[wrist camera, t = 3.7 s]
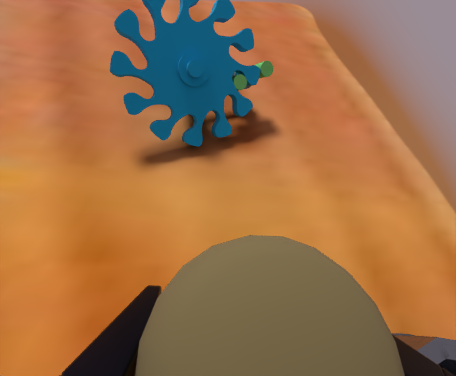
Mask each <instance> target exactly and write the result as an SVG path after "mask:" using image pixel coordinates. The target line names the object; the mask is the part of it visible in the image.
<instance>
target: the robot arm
mask: <svg viewBox="0 0 456 376" xmlns="http://www.w3.org/2000/svg"><path fill="white" fill-rule="evenodd" d="M160 294H161V286H154V285H149V286H147V287H146V288H145V289H144V290H143V291H142V292H141V293H140V294H139V295H138V296H137V297H136V298H135V299H134V300H133V301H132V302H131V303H130V304H129V305H128V306H127V307H126V308H125V309H124V310H123V311H122V312H121V313H120V314H119V315H118V316H117V317H116V318H115V319H114V320H113V321H112V322H111V323H110V324H109V325H108V326H107V327H106V329H105V330H104V331H103V332H102V333H101V334H100V335H99V336H98V337H97V338H96V339H95V340H94V341H93V342H92V343H91V344H90V345H89V346H88V347H87V348H86V349H85V350H84V351H83V352H82V353H81V354H80V355H79V356H78V357H77V358H76V359H75V360H74V361H73V362H72V363H71V364H70V365H69V366H68V367H67V368H66V369H65V370H64V371H63V372H62V376H135V373H136V365H137V357H138V349H139V341H140V339H141V336H142V334H143V332H144V329H145V327H146V324H147V322H148V319H149V317H150V315H151V312H152V310H153V307H154V305H155V303H156V300H157V298H158V297H159V295H160ZM392 336H393V338H394V340H395V342H396V345H397V349H398V352H399V356H400V360H401V364H402V367H403V371H404V375H405V376H454V375H453V374H451V373H450V372H448V371H447V370H445V369H444V368H442V369H441V367H440V366H439V365H438V364H436V363H435V362H433V361H432V360H430V359H429V358H427V357H426V356H424V355H423V354H421V353H420V352H418V351H417V350H415V349H414V348H412V347H411V346H409V345H408V344H406V343H405V342H403V341H402V340H400V339H399V338H397V337H396V336H394V335H393V334H392ZM60 376H61V375H60Z"/></svg>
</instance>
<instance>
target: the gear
mask: <svg viewBox="0 0 456 376" xmlns="http://www.w3.org/2000/svg"><path fill="white" fill-rule="evenodd" d="M142 1H143V3H144V5H145V6H146V8H147V9H148V10H149V12H150V14H151V16H152V18H153V22H154V27H155V39H154V40H153V41H146V40H144V39H143V38H142V37H141V35H140V33H139V22H138V19H137V16H136V15H135V14H134V12H132V11H131V10H129V9H128V10H125V11H124V12H122V13H121V14H120V15H119V16H118V18H117V19H116V20H115V29H116V30H117V32H118V33H119V34H120V35H121V36H123V37H125V38H128V39H129V40H131V41H132V42H134V43H135V44H136V45H137V46H138V47H139V48H140V50H141V51H142V53H143V55H144V56H145V58H146V60H147V67H146V68H145V69H143V70H139V69H137V68H135V67H134V66H133V65H132V63H131V61H130V60H129V58H128V57H127V55H125V54H124V53H123V52H120V51H114V53H113V55H112V58H111V63H110V72H111V73H112V74H113V75H115V76H118V77H124V76H132V77H137V78H139V79H141V80H143V81H145V82H147V83H148V84H150V85H151V86H152V88H153V90H154V94H153V96H152V98H150V99H145V98H143V97H141V96H139V95H138V94H136V93H127V94H126V95H124V104H125V106H126V109H127V111H128V113H129V114H132V115H136V114H139V113H140V112H141V111H142V110H143V109H145V108H146V107H149V106H151V105H156V104H161V105H167V106H168V107H169V108H170V109H171V116H170V118H169V119H167V120H156V121H154V122H152V123H151V125H150V127H149V128H150V129H151V131H152V132H153V133H154V134H155V135H156V136H157V137H159V138H160V139H161V140H166V139H167V138H168V137H169V136H170V134H171V130H172V128H173V126H174V125H175V123H176V122H177V121H178V120H179V119H181V118H182V117H184V116H186V115H188V114H189V115H191V116H192V117H193V119H194V124H193V126H192V127H191V128H189V129H188V130H186V131H185V132H184V133H183V136H182V141H183V142H185V143H187V144H189V145H193V146H199V147H200V146H201V144H202V142H203V137H202V124H203V121H204V119H205V117H206V115H207V113H208V112H209V111H211V110H212V111H213V112H214V113H215V114H216V120H215V122H214V124H213V126H212V134H213V135H214V136H215V137H225V136H228V135H230V134H231V133H232V127H231V125H230V124H229V123H228V121H227V119H226V117H225V113H224V99H225V97H226V96H227V95H229V96H230V97H231V98H232V101H233V105H232V108H233V112H234V114H235V115H236V116H241V117H243V116H245V115H246V114H247V113H248V112H249V111H250V110H251V108H252V107H253V105H252V102H251V101H250V100H249V99H247V98H245V97H243V96H242V95H241V94H240V93H239V92H238V91H237V90H242V89H247V88H249V87H250V86H251V85H256V83H257V82H258V79H259V78H263V77H268V76H270V75H271V74H272V72H273V65H272V63H271V62H269V61H265V62H261V63H258V64H256V65H252V66H245V65H242V64H239V63H238V62H236V61H235V60H234V59H233V58H232V57H231V56H230V54H229V46H230V45H232V46H234V47H235V48H236V49H238V50H239V51H241V52H246V51H248V50H250V49H252V48H253V47H254V38H253V34H252V30H251V29H249V28H246V29H244V30H242V31H240V32H239V33H237V34H236V35H235V36H231V37H226V36H220V35H218V34H216V32H215V31H214V28H213V24H214V22H222V23H224V22H226V21H228V20H229V19H230V18H232V17H233V16H234V14H235V10H234V7H233V5H232V3H231V2H230V1H229V0H217V1H216V2H215V3H214V5H213V8H212V11H211V14H210V15H209V17H208V18H206V19H204V20H202V21H200V22H195V21H193V20H192V19H191V17H190V15H189V8H190V7H192V6H194V5H196V3H197V2H198V1H199V0H180V11H179V15H178V17H177V20H176V21H175V23H171V24H170V23H167V22H166V21H164V19H163V18H162V15H161V9H162V7H163V4H164V2H165V0H142Z"/></svg>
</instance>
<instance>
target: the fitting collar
mask: <svg viewBox="0 0 456 376" xmlns="http://www.w3.org/2000/svg"><path fill="white" fill-rule="evenodd" d="M391 334H393V335H394V336H396V337H397V338H399V339H400V340H402V341H403V342H405V343H406V344H408V345H409V346H411V347H412V348H414V349H415V350H417V351H418V352H420V353H421V354H423V355H424V356H426V357H427V358H429V359H430V360H432V361H433V362H435V363H436V364H438V365H439V366H440V367H441V369H442V368H444V369H445V370H447V371H448V372H450V373H451V374H453V375H454V376H456V340H450V339H444V338H439V337H425V336H414V335H409V334H397V333H391Z"/></svg>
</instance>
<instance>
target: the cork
mask: <svg viewBox="0 0 456 376" xmlns="http://www.w3.org/2000/svg"><path fill="white" fill-rule="evenodd" d="M135 376H405V375H404V371H403V367H402V364H401V360H400V356H399V352H398V349H397V345H396V342H395V340H394V338H393V336H392V334H391V332H390V330H389V328H388V326H387V325H386V323H385V321H384V319H383V317H382V315H381V313H380V311H379V309H378V307H377V305H376V304H375V302H374V301H373V300H372V299H371V298H370V297H369V295H368V294H367V293H366V292H365V291H364V290H363V288H362V287H361V286H360V285H359V284H358V283H357V281H356V280H355V279H354V278H353V277H352V276H351V274H350V273H348V272H347V271H346V270H345V269H344V268H342V267H341V266H340V265H338V264H337V263H335V262H334V261H333V260H331V259H330V258H328V257H327V256H326V255H324V254H323V253H321V252H320V251H318V250H317V249H316V248H314V247H311V246H308V245H305V244H303V243H300V242H297V241H294V240H291V239H289V238H286V237H281V236H256V235H249V236H245V237H242V238H238V239H235V240H231V241H228V242H224V243H221V244H217V245H214V246H212V247H210V248H209V249H207V250H206V251H204V252H203V253H201V254H200V255H198V256H197V257H195V258H194V259H193V260H191V261H190V262H188V263H187V264H185V265H184V266H182V268H181V269H180V270H179V271H178V273H177V274H176V275H175V277H174V278H173V279H172V280H171V282H170V283H169V284H168V285H167V287H166V288H165V289H164V290H163V292H162V293H161V294H160V295H159V297H158V298H157V300H156V303H155V305H154V307H153V310H152V312H151V315H150V317H149V319H148V322H147V324H146V327H145V329H144V332H143V334H142V336H141V339H140V341H139V349H138V357H137V365H136V373H135Z"/></svg>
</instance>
